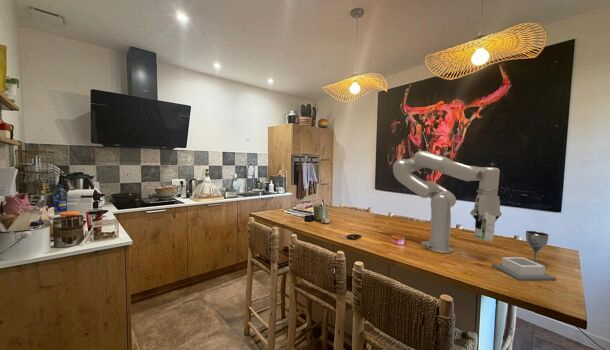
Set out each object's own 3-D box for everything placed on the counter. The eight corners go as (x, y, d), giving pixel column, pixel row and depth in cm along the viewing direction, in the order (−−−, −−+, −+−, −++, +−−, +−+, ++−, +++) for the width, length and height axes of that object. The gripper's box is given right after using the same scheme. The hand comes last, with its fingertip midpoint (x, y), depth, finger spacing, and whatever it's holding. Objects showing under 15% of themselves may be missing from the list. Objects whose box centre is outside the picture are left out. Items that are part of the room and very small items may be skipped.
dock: (518, 280, 102) (519, 268, 101) (491, 266, 116) (492, 255, 115) (555, 280, 102) (556, 268, 102) (524, 266, 116) (525, 255, 116)
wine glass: (548, 268, 114) (550, 236, 113) (525, 264, 118) (527, 233, 118) (543, 262, 121) (545, 232, 120) (522, 259, 125) (524, 229, 124)
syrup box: (473, 237, 125) (476, 209, 124) (484, 237, 126) (487, 209, 125) (482, 241, 120) (485, 211, 119) (493, 241, 120) (496, 211, 119)
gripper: (476, 193, 117) (472, 230, 118) (511, 194, 118) (507, 231, 119) (465, 190, 124) (462, 225, 126) (498, 191, 125) (495, 226, 127)
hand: (484, 228), depth 122 cm, fingers closed on syrup box, 5 cm apart
